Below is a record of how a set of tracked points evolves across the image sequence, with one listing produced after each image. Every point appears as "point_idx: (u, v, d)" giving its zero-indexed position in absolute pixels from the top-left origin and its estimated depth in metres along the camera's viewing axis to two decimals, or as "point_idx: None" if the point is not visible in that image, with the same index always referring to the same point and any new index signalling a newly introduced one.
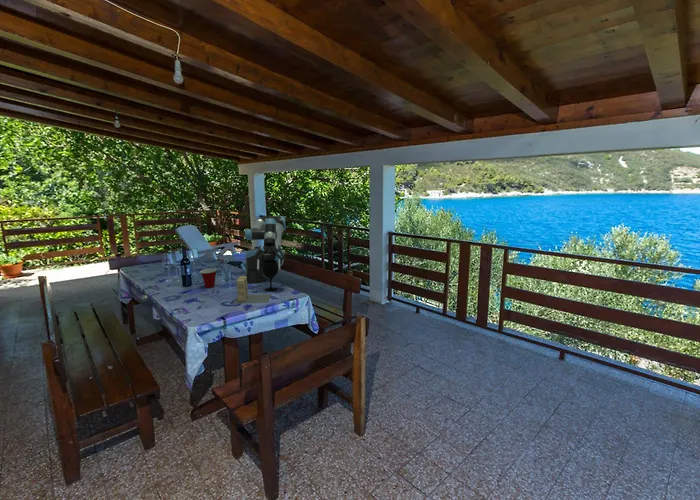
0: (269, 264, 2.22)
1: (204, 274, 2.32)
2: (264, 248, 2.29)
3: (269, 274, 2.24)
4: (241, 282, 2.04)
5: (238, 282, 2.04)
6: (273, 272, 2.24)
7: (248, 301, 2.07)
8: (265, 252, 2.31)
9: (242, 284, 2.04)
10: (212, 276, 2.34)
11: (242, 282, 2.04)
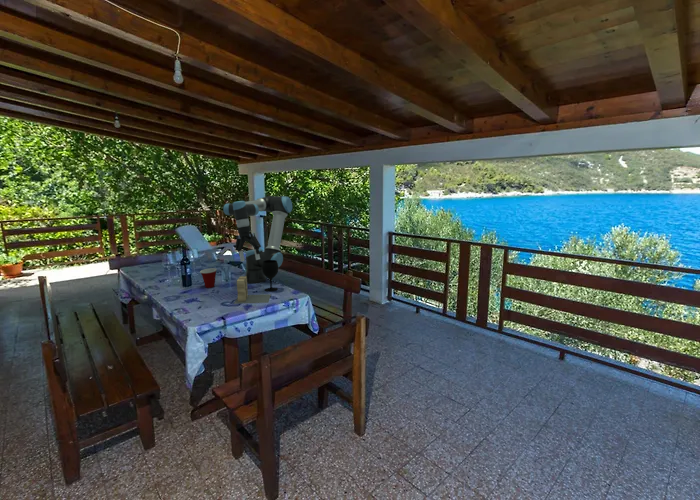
0: (269, 264, 2.22)
1: (204, 274, 2.32)
2: (240, 238, 2.13)
3: (269, 274, 2.24)
4: (241, 282, 2.04)
5: (238, 282, 2.04)
6: (273, 272, 2.24)
7: (248, 301, 2.07)
8: None
9: (242, 284, 2.04)
10: (212, 276, 2.34)
11: (242, 282, 2.04)
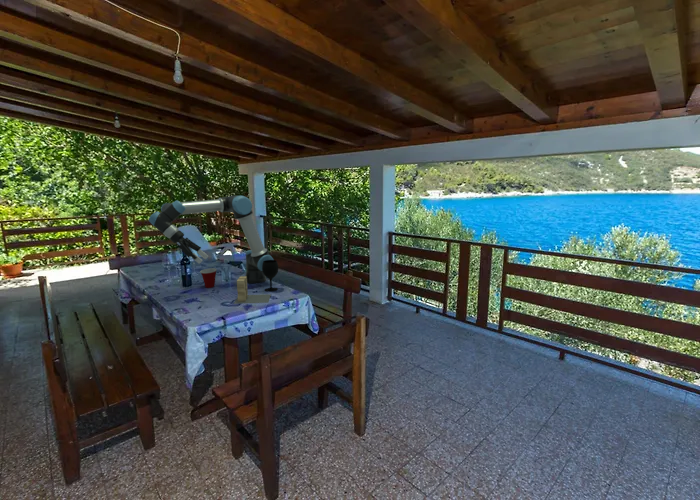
0: (269, 264, 2.22)
1: (204, 274, 2.32)
2: None
3: (269, 274, 2.24)
4: (241, 282, 2.04)
5: (238, 282, 2.04)
6: (273, 272, 2.24)
7: (248, 301, 2.07)
8: (189, 242, 2.03)
9: (242, 284, 2.04)
10: (212, 276, 2.34)
11: (242, 282, 2.04)
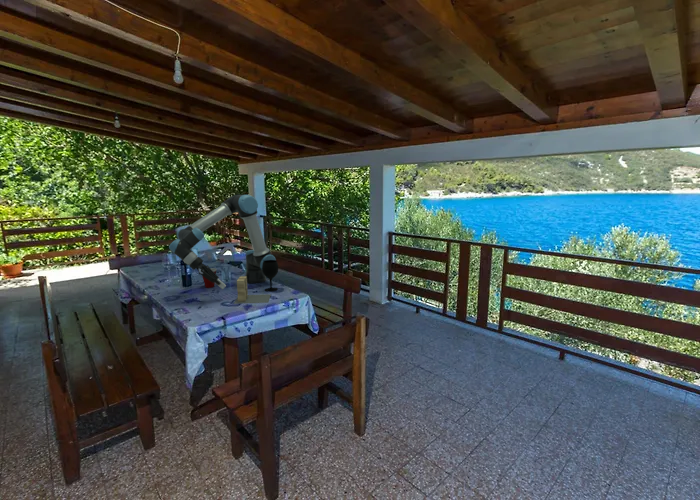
0: (269, 264, 2.22)
1: None
2: None
3: (269, 274, 2.24)
4: (241, 282, 2.04)
5: (238, 282, 2.04)
6: (273, 272, 2.24)
7: (248, 301, 2.07)
8: (207, 269, 2.06)
9: (242, 284, 2.04)
10: None
11: (242, 282, 2.04)
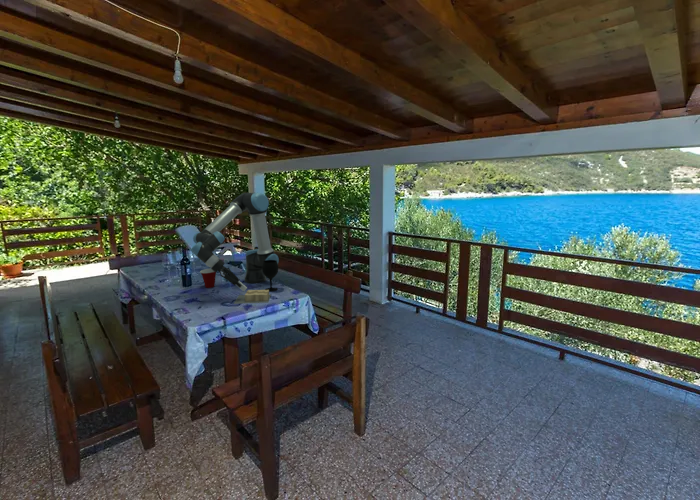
0: (269, 264, 2.22)
1: (204, 274, 2.32)
2: None
3: (269, 274, 2.24)
4: (265, 298, 2.07)
5: (265, 296, 2.07)
6: (273, 272, 2.24)
7: None
8: None
9: (263, 299, 2.07)
10: (212, 276, 2.34)
11: (265, 299, 2.08)
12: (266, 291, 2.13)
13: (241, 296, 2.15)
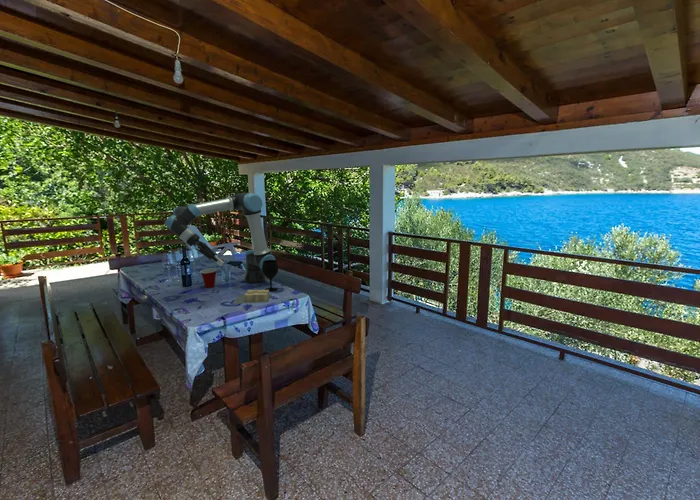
0: (269, 264, 2.22)
1: (204, 274, 2.32)
2: None
3: (269, 274, 2.24)
4: (265, 298, 2.07)
5: (265, 296, 2.07)
6: (273, 272, 2.24)
7: None
8: None
9: (263, 299, 2.07)
10: (212, 276, 2.34)
11: (265, 299, 2.08)
12: (266, 291, 2.13)
13: (241, 296, 2.15)
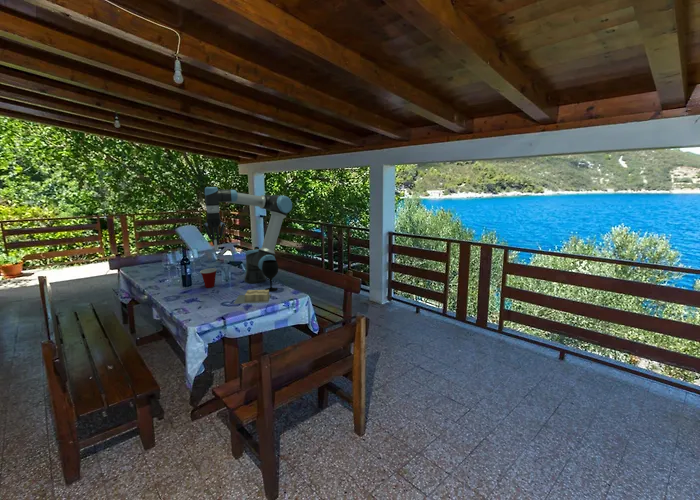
0: (269, 264, 2.22)
1: (204, 274, 2.32)
2: (209, 223, 2.12)
3: (269, 274, 2.24)
4: (265, 298, 2.07)
5: (265, 296, 2.07)
6: (273, 272, 2.24)
7: None
8: (213, 226, 2.15)
9: (263, 299, 2.07)
10: (212, 276, 2.34)
11: (265, 299, 2.08)
12: (266, 291, 2.13)
13: (241, 296, 2.15)
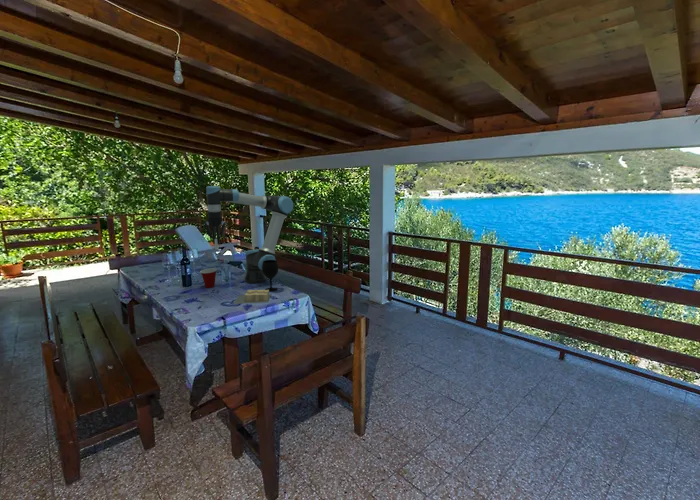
0: (269, 264, 2.22)
1: (204, 274, 2.32)
2: (210, 222, 2.13)
3: (269, 274, 2.24)
4: (265, 298, 2.07)
5: (265, 296, 2.07)
6: (273, 272, 2.24)
7: None
8: None
9: (263, 299, 2.07)
10: (212, 276, 2.34)
11: (265, 299, 2.08)
12: (266, 291, 2.13)
13: (241, 296, 2.15)
